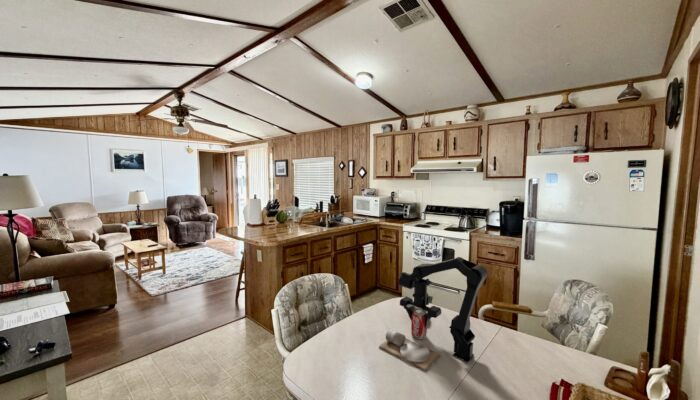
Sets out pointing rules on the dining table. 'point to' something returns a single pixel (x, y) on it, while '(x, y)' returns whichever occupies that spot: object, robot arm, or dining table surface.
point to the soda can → (418, 324)
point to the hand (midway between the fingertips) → (419, 324)
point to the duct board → (409, 350)
